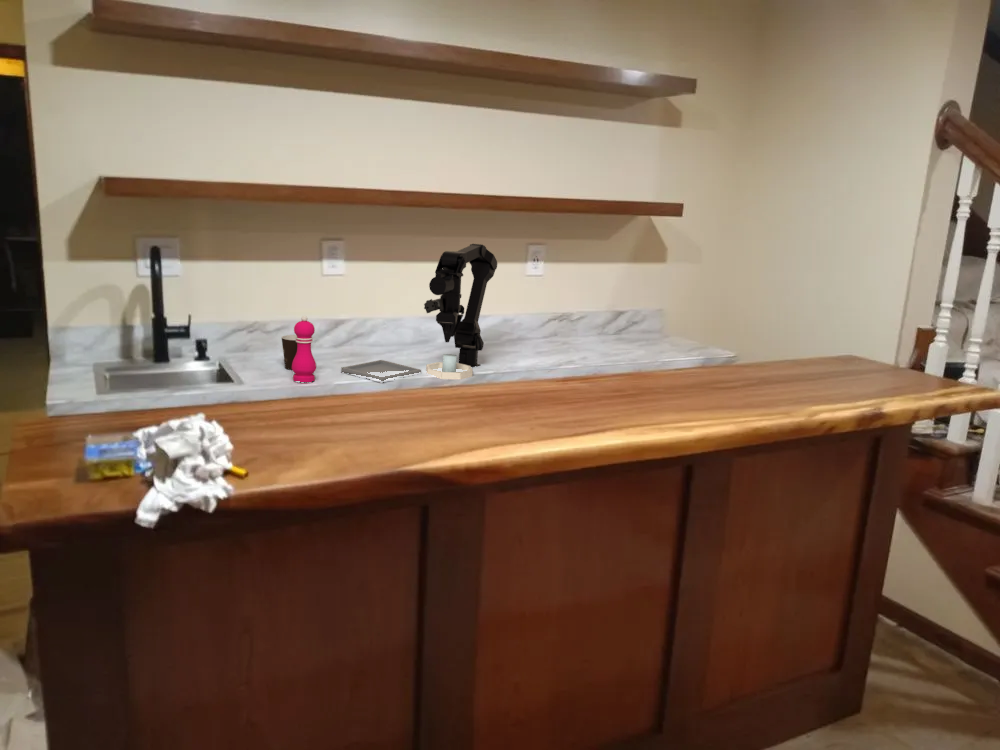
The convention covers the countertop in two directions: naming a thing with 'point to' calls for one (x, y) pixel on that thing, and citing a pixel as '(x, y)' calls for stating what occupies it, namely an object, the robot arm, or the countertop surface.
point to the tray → (378, 369)
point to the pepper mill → (304, 352)
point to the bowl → (449, 374)
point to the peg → (449, 363)
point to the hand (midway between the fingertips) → (449, 339)
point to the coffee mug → (289, 350)
